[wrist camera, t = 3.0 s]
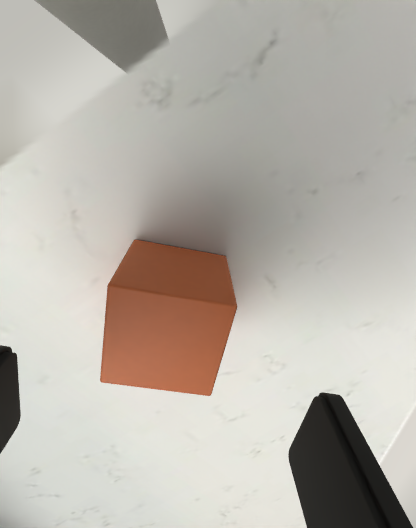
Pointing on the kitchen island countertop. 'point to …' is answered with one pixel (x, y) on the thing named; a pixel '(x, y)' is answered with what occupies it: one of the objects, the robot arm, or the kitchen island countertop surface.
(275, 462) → the kitchen island countertop surface
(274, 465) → the kitchen island countertop surface
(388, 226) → the kitchen island countertop surface
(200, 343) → the block
